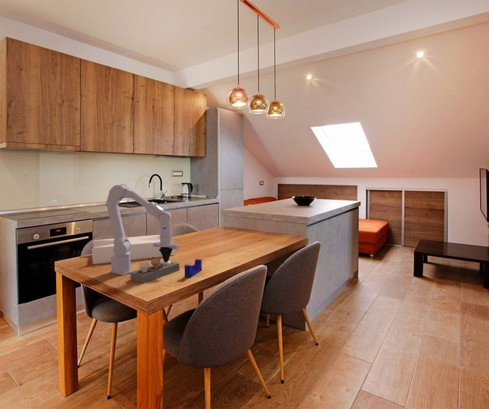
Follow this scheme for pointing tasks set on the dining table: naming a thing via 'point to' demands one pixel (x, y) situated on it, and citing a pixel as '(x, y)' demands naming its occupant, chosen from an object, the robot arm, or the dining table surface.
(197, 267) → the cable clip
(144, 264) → the knob near
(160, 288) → the dining table surface
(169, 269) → the mount
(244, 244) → the dining table surface
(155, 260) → the knob middle
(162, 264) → the knob far
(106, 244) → the building model
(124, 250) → the robot arm
